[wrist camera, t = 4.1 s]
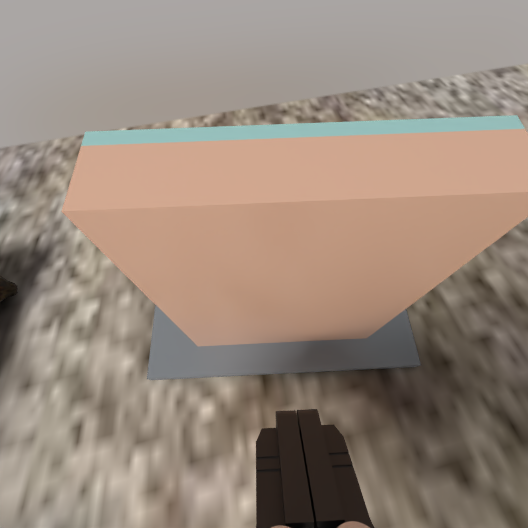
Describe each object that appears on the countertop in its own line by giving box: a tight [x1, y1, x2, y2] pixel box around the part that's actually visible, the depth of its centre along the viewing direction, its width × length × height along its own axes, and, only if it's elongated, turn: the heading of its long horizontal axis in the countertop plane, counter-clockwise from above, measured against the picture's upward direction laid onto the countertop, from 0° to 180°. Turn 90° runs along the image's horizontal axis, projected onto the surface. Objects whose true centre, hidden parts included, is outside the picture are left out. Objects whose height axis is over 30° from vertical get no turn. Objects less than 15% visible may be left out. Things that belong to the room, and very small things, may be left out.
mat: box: [147, 305, 421, 380], centre depth 19 cm, size 14×16×1 cm
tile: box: [62, 115, 528, 346], centre depth 11 cm, size 9×2×12 cm, turn 93°
